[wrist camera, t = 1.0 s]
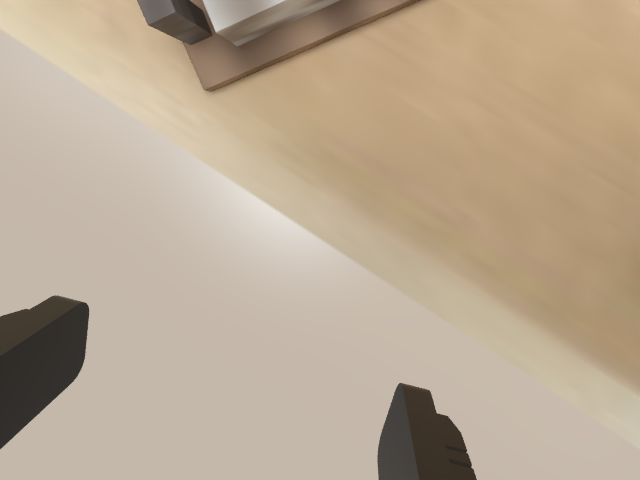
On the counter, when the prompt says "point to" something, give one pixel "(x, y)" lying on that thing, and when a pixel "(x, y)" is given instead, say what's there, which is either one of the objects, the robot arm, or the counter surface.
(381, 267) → the counter surface
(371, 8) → the base
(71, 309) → the robot arm
